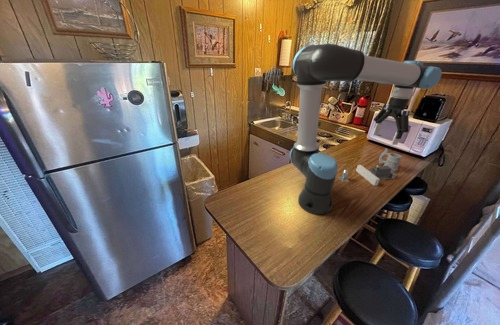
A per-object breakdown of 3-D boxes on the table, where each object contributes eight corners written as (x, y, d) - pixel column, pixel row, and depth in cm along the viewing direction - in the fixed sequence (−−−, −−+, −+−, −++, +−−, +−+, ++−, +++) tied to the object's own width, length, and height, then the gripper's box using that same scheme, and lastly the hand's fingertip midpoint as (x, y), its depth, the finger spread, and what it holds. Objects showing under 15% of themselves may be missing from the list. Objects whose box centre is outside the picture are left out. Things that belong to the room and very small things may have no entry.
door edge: (374, 185, 106) (376, 179, 104) (355, 170, 120) (357, 165, 118) (377, 185, 106) (379, 179, 105) (358, 170, 120) (360, 164, 118)
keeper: (371, 180, 111) (373, 175, 109) (364, 174, 116) (366, 170, 115) (394, 178, 113) (396, 174, 111) (386, 173, 118) (388, 169, 117)
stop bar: (383, 174, 116) (387, 163, 113) (387, 177, 113) (392, 166, 110) (369, 175, 115) (373, 164, 112) (373, 178, 112) (377, 167, 109)
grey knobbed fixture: (342, 181, 109) (345, 172, 106) (337, 177, 113) (340, 168, 111) (349, 181, 110) (352, 172, 107) (344, 176, 114) (346, 167, 111)
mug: (393, 173, 118) (400, 155, 112) (373, 165, 127) (379, 148, 121) (399, 170, 121) (407, 153, 115) (380, 162, 130) (386, 146, 124)
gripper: (374, 93, 103) (362, 131, 113) (416, 102, 82) (396, 149, 92) (387, 93, 105) (374, 131, 114) (431, 102, 83) (410, 148, 93)
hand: (383, 139), depth 103 cm, fingers open, 13 cm apart
